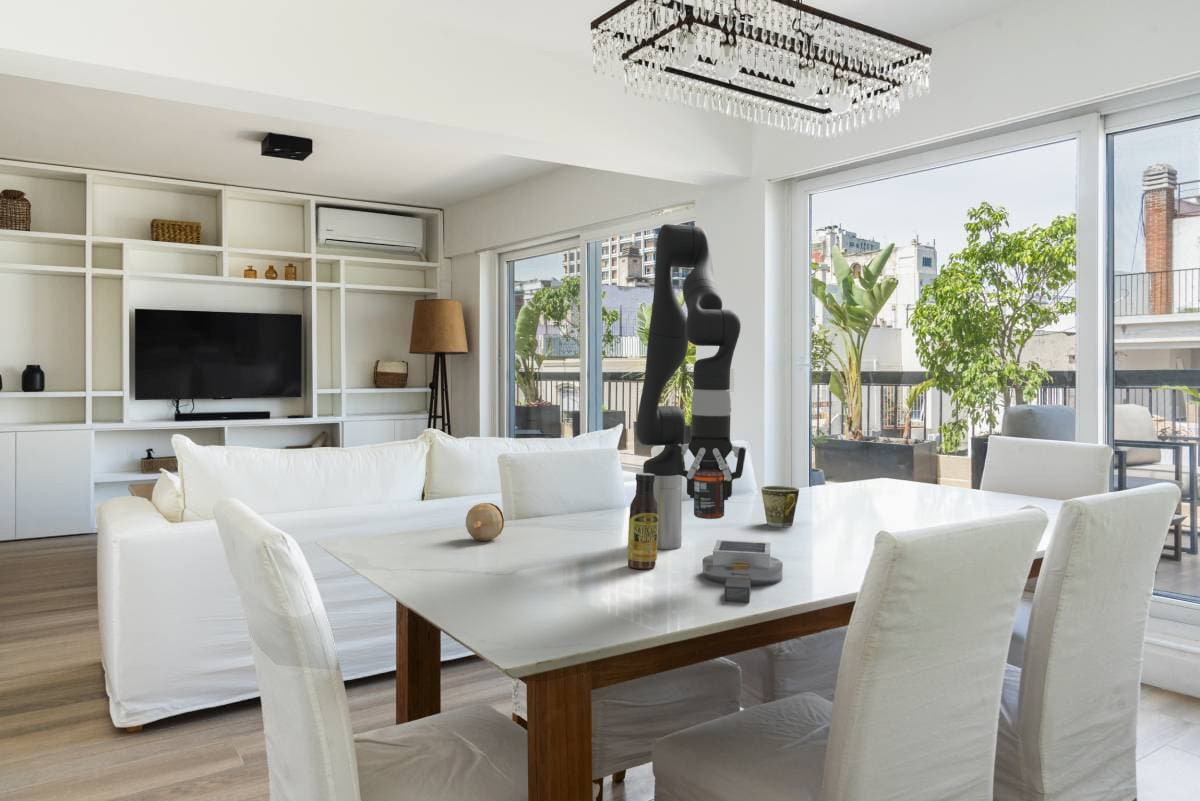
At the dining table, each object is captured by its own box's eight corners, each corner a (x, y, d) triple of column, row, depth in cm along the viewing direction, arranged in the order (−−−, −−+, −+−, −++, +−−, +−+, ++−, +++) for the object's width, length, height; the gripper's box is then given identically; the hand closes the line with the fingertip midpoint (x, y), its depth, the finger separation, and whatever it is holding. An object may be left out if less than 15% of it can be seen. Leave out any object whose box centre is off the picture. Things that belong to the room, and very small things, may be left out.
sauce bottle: (632, 571, 173) (633, 476, 172) (623, 564, 179) (624, 472, 178) (662, 569, 174) (662, 475, 174) (652, 562, 180) (653, 471, 180)
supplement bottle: (721, 514, 165) (722, 457, 165) (726, 520, 159) (727, 461, 159) (691, 513, 165) (692, 457, 165) (695, 519, 159) (696, 461, 159)
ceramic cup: (754, 522, 229) (754, 486, 228) (786, 520, 232) (787, 485, 231) (778, 531, 216) (778, 493, 216) (811, 529, 219) (812, 491, 219)
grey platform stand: (692, 599, 152) (692, 566, 152) (706, 564, 179) (706, 537, 178) (782, 604, 148) (782, 571, 148) (782, 569, 175) (782, 540, 175)
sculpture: (510, 503, 209) (489, 497, 195) (513, 540, 207) (492, 536, 193) (476, 507, 211) (452, 501, 197) (478, 544, 209) (454, 541, 195)
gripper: (671, 413, 159) (669, 499, 160) (747, 415, 156) (745, 504, 157) (677, 410, 167) (675, 493, 168) (749, 412, 163) (748, 497, 164)
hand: (709, 498), depth 162 cm, fingers closed on supplement bottle, 6 cm apart
